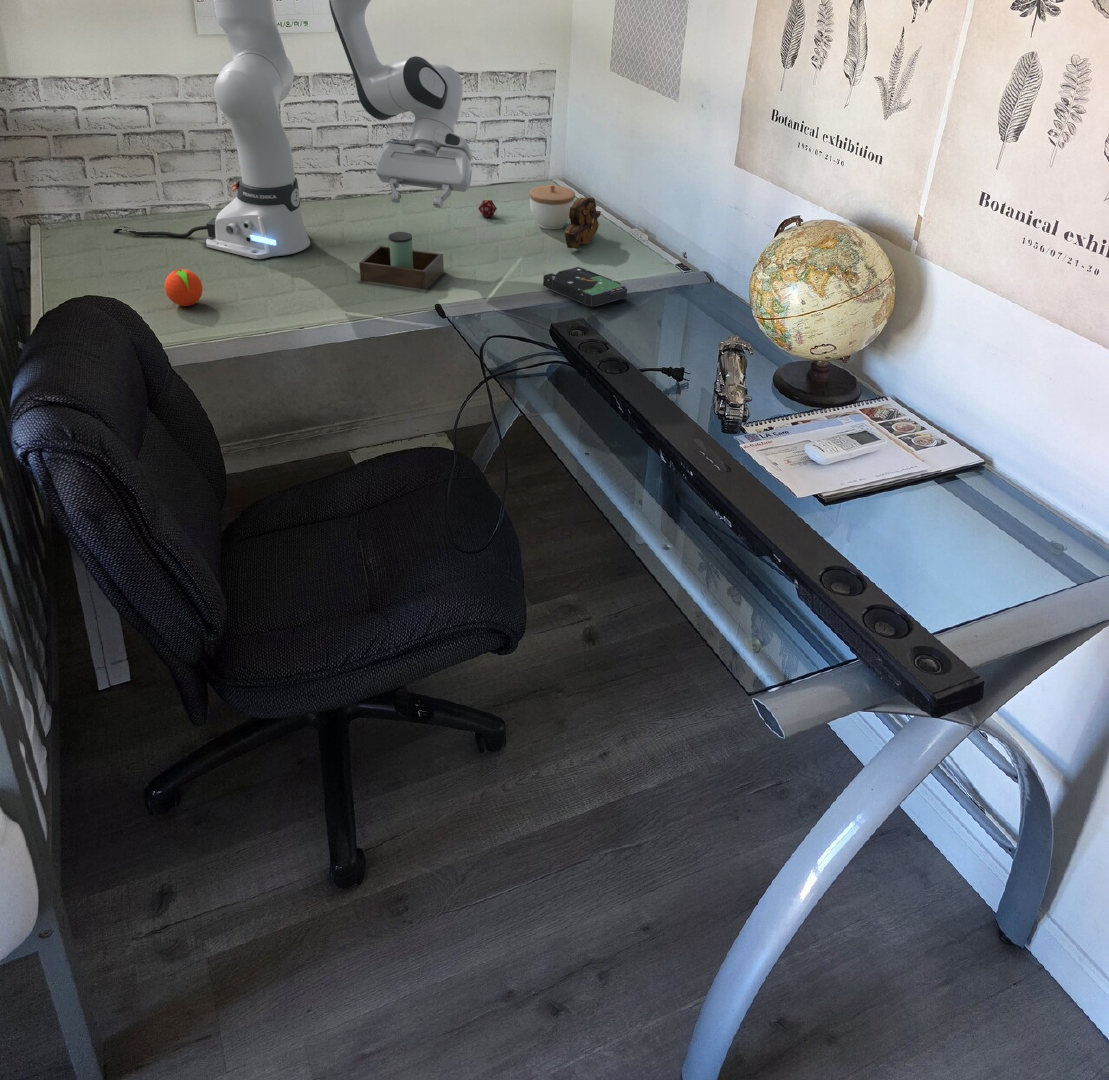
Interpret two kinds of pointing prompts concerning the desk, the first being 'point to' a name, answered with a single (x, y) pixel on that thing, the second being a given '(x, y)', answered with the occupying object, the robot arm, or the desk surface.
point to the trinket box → (551, 205)
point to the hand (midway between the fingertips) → (416, 204)
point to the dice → (487, 208)
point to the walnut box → (401, 269)
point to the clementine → (183, 287)
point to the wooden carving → (582, 222)
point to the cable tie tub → (401, 249)
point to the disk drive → (585, 286)
